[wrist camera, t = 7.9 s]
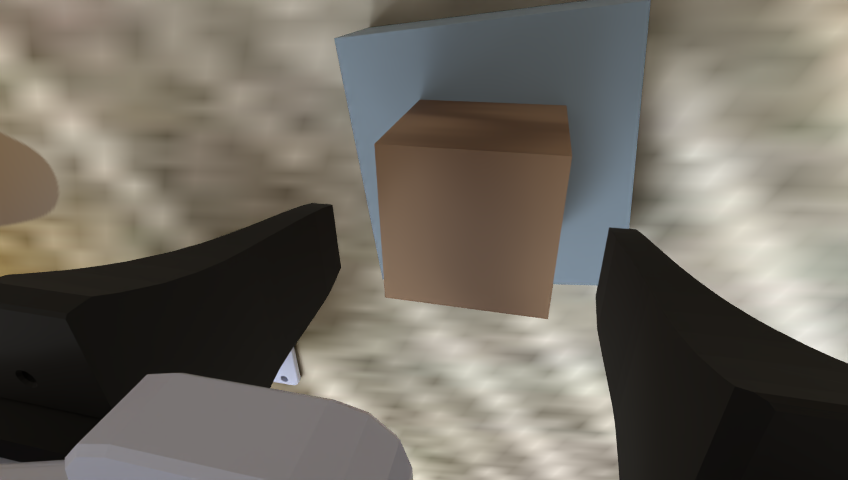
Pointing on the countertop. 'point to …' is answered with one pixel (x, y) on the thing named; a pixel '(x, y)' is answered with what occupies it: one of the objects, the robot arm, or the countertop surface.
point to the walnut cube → (474, 204)
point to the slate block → (518, 98)
